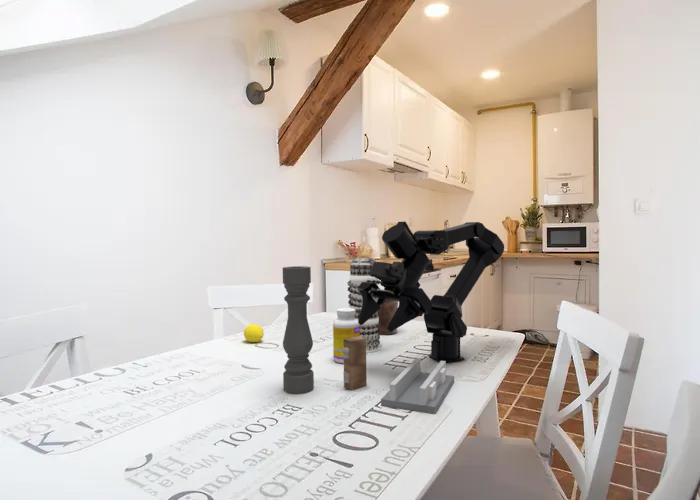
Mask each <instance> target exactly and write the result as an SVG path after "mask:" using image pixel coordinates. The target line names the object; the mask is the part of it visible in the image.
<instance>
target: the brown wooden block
mask: <svg viewBox="0 0 700 500" xmlns="http://www.w3.org/2000/svg"><path fill="white" fill-rule="evenodd" d="M343 340H344V347H343V358H344V363H343V387H344V388H345V389H346V390H347V389H348V390H350V391H355V390H357V389H360V388H361V389H362V388H364V387H365V388H366V387H367V384H368V383H367V377H368V376H367V353H366V338H363V337H359V336H357V337H352V338H347V339H343Z"/></svg>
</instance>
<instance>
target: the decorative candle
mask: <svg viewBox="0 0 700 500" xmlns="http://www.w3.org/2000/svg"><path fill="white" fill-rule="evenodd" d="M374 262H377V261H376V260H375V258H373V257H355V258H353V259H352V261H351V262H350V263H349V266H350V267H349V273H350V274H349V281H347V286H348V287H347V291H348V293H349V294H348V295H347V297H348V299H349V300H348V308H353V309H355V310H356V314H355V319H357V320H359V316H360V312H361V308H362V303H363V298H362V296H361V295H360V292H359V291H358V290H357V289H358V287H359V285H360V284H361V283H362V282H371V283H376V284H377V285H378V286H379V285H381V284H380V281H381V280H379V279H377V278H375V277H371V276H370V272H371V269H372V266H373V263H374ZM378 322H379V317H378V311H377V312H376V313H375V314H374V315H373V316H372V317H371V318H369V319H368V320H367V321H366V322H365V323H364V324H363V325H360V324H359V325H360V337H363V338H366V354H368V353H375V352H378V351H380V349H381V346H380V345H381V341H380V339H381V335H380V334H378V333H379V332H380V329H379V328H378V327H379V326H380V324H379V323H378Z"/></svg>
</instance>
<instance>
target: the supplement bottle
mask: <svg viewBox="0 0 700 500" xmlns="http://www.w3.org/2000/svg"><path fill="white" fill-rule="evenodd" d="M355 314H356V310H355V309H353V308H350V307H341V308H337V309H336V315H337V318H336V319H334V320H333V323H332V330H333V331H332V334H333V335H332V336H333V337H332V339H333V340H332V341H333V342H332V344H333V345H332V346H333V347H332V348H333V349H332V351H333V352H332V353H333V355H332V356H333V361H334V362H336V363H338V364H344V358H343V347H344V340H343V339H347V338H352V337H357V336H359V337H360V325H359V323H358V320H357V319H355Z"/></svg>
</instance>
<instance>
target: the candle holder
mask: <svg viewBox="0 0 700 500" xmlns="http://www.w3.org/2000/svg"><path fill="white" fill-rule="evenodd" d="M311 271H312V270H311V266H305V265H304V266H303V265H302V266H299V265H298V266H296V265H295V266H283V267H282V284H283V285H284V286H283V287H284V289H285V291H286V292H287V294H286V295H285V296H284V298H283V301H285V302H286V304H287V321H286V326H285V331H284V335H283V340H282V347H283V350H284V352H285V353H286V354H287V355H286V357H287V358H288V360H287V361H286V363H285V364H284V371H283V373H282V375H283V377H282V378H283V380H282V381H283V384H282V385H283V391H284V392H285V393H286V394H290V395H302V394H306V393H307V394H308V393H310V392H312V391H314V388H315V384H314V382H315V379H314V374H315V373H314V371H313V370H312V368H313V363H312V362H311V361H310V360H309V358H308V357H309V356H310V354H309V353H310V352H311V350H312V349H313V345H314V341H313V337H312V333H311V329H310V324H309V322H308V310H307V307H308V306H307V304H308V301H309V300H310V299H311V296H310V295H309V294H308V293H307V292H308V290H309V288H310V284H311V283H312V279H311V277H312V276H311V274H312V273H311Z"/></svg>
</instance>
